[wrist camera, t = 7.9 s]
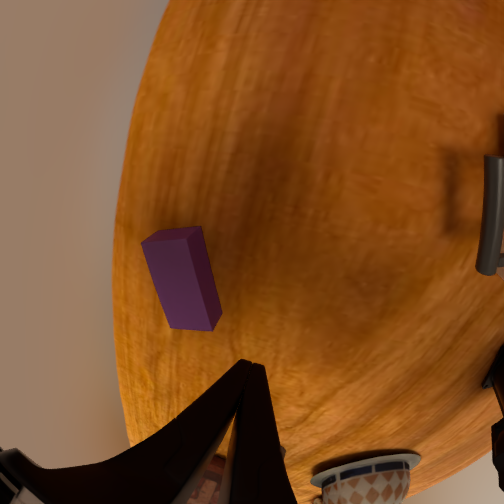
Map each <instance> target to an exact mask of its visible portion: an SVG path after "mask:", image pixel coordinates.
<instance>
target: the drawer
mask: <svg viewBox="0 0 504 504" xmlns="http://www.w3.org/2000/svg"><path fill="white" fill-rule="evenodd" d="M475 268H476V270H477V271H478V272H479V273H481V274H484V275H488V276H491V275H494V274H495V273H497V274H498V275H499V276H500V277H501V278H502V279H503V281H504V157H502V156H497V155H489V154H485V155H484V198H483V213H482V223H481V232H480V240H479V247H478V253H477V259H476V265H475Z"/></svg>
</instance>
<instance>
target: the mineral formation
mask: <svg viewBox="0 0 504 504" xmlns="http://www.w3.org/2000/svg"><path fill="white" fill-rule="evenodd" d="M313 504H324V502H323V499H320V498H316V499H315V500H314V503H313Z"/></svg>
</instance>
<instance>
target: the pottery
mask: <svg viewBox="0 0 504 504" xmlns="http://www.w3.org/2000/svg"><path fill="white" fill-rule="evenodd" d="M225 463H226V461H225V460H223V459H221V458H219V457H217V456H215V455H214V456H213V458H212V460H211V462H210V463H209V465H208V467H207V469H206V471H205V472H204V474H203V476H202V478H201V479H200V481H199V483H198V485H197V486H196V488H195V490H194V491H193V493H192V495H191V496H190V498H189V500H188V501H187V503H186V504H217V502H218V497H219V492H220V487H221V482H222V478H223V473H224V468H225Z"/></svg>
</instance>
